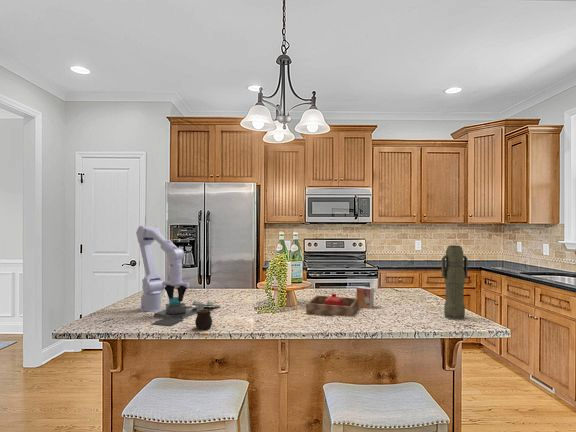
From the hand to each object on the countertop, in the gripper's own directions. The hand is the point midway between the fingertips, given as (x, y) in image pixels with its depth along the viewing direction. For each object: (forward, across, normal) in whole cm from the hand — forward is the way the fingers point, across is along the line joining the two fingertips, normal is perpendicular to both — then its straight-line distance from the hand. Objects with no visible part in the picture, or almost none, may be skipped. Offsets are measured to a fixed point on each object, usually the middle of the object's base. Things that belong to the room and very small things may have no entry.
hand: (175, 301), depth 187 cm
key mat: (+7, -5, +13) cm, 16 cm away
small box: (+7, -85, -50) cm, 99 cm away
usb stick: (+5, +1, 0) cm, 5 cm away
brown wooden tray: (+7, -71, -36) cm, 79 cm away
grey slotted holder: (+5, 0, 0) cm, 5 cm away
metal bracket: (+6, -14, -16) cm, 23 cm away
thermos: (+8, -128, -38) cm, 134 cm away
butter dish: (+8, -70, -39) cm, 81 cm away
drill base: (+7, 0, 0) cm, 7 cm away
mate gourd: (+7, -26, +16) cm, 31 cm away
